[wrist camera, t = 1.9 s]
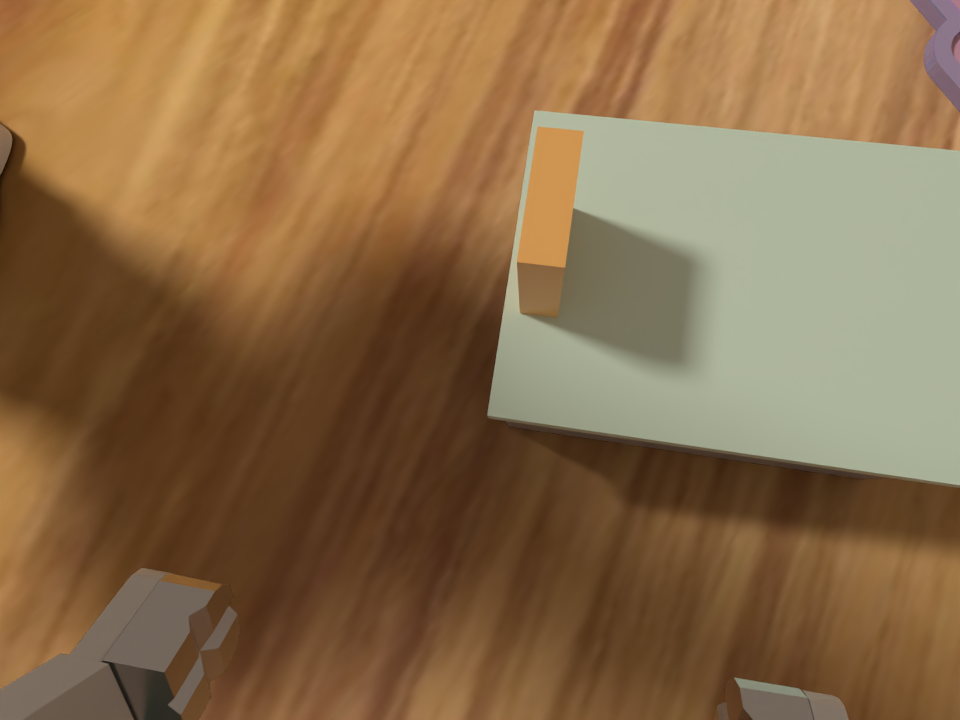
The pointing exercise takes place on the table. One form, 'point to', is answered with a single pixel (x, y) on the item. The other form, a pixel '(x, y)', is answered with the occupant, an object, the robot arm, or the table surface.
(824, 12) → the table surface
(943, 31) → the icon
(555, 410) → the lid
